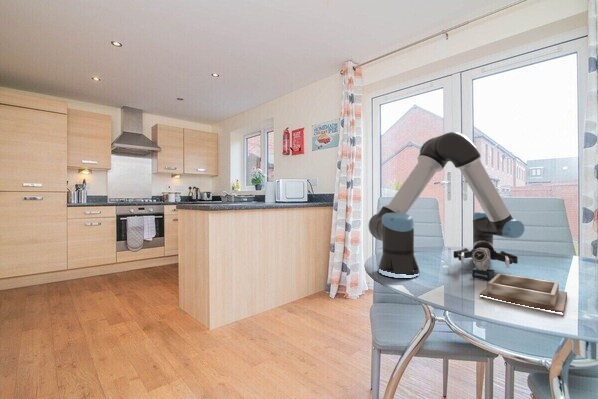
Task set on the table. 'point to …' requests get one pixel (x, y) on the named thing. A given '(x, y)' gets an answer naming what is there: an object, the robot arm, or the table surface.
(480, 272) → the watch
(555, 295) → the board
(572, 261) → the table surface
